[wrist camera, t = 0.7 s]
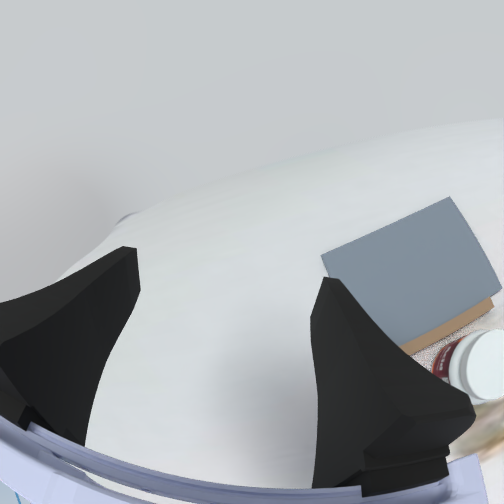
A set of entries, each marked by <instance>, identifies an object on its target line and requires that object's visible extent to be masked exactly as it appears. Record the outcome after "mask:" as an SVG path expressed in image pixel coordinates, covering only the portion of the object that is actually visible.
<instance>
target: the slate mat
mask: <svg viewBox="0 0 504 504" xmlns="http://www.w3.org/2000/svg"><path fill="white" fill-rule="evenodd" d="M321 257H322V259H323V262H324V264H325V267H326V269H327V271H328V274H329V276H330V278H337V279H340V280H341V282H342V283H343V284H344V285H345V286H346V288H347V289H348V290H349V291H350V293H351V294H352V295H353V296H354V298H355V299H356V300H357V301H358V303H359V304H360V305H361V306H362V308H363V309H364V310H365V311H366V313H367V314H368V315H369V316H370V317H371V318H372V320H373V321H374V322H375V323H376V324H377V325H378V326H379V327H380V328H381V330H382V331H383V332H384V333H385V334H386V335H387V336H388V337H389V338H390V339H391V340H392V341H393V342H394V343H395V344H397V345H398V346H399V347H400V348H401V349H402V350H403V351H404V352H405V353H406V354H408V355H411V354H414V353H416V352H418V351H420V350H422V349H424V348H425V347H427V346H429V345H431V344H433V343H435V342H437V341H439V340H441V339H442V338H444V337H446V336H448V335H450V334H451V333H453V332H455V331H457V330H458V329H460V328H462V327H463V326H465V325H467V324H468V323H470V322H472V321H473V320H475V319H477V318H478V317H480V316H481V315H483V314H484V313H486V312H488V311H489V310H491V309H492V308H494V305H493V303H492V300H491V298H490V296H492V295H493V294H495V293H496V292H498V291H499V290H501V289H502V286H501V284H500V282H499V280H498V278H497V276H496V274H495V272H494V270H493V268H492V266H491V264H490V262H489V260H488V258H487V256H486V254H485V253H484V251H483V249H482V247H481V245H480V244H479V242H478V240H477V238H476V237H475V235H474V233H473V232H472V230H471V228H470V227H469V225H468V223H467V222H466V220H465V219H464V217H463V216H462V214H461V212H460V211H459V209H458V208H457V206H456V205H455V203H454V202H453V200H452V199H451V198H450V196H449V197H447V198H445V199H443V200H441V201H439V202H437V203H435V204H433V205H431V206H428V207H426V208H424V209H422V210H420V211H418V212H416V213H413V214H411V215H409V216H407V217H405V218H403V219H401V220H398V221H396V222H394V223H392V224H390V225H387V226H385V227H383V228H381V229H379V230H376V231H374V232H372V233H370V234H368V235H365V236H363V237H361V238H359V239H356V240H354V241H352V242H350V243H347V244H345V245H343V246H340V247H338V248H336V249H334V250H331V251H329V252H327V253H324V254H322V255H321Z"/></svg>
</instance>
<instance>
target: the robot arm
mask: <svg viewBox="0 0 504 504" xmlns="http://www.w3.org/2000/svg"><path fill="white" fill-rule="evenodd" d="M140 291H141V288H140V279H139V270H138V259H137V248H131V247H125V246H122V247H120V248H118V249H116V250H114V251H112V252H110V253H109V254H107V255H105V256H103V257H102V258H100V259H98V260H96V261H95V262H93V263H91V264H89V265H88V266H86V267H84V268H83V269H81V270H79V271H77V272H75V273H73V274H71V275H70V276H68V277H66V278H64V279H62V280H60V281H58V282H56V283H54V284H52V285H50V286H47V287H45V288H43V289H41V290H38V291H36V292H33V293H30V294H27V295H25V296H22V297H19V298H16V299H13V300H9V301H6V302H2V303H0V480H1V481H2V482H3V483H4V484H6V485H7V486H8V487H10V488H11V489H13V490H14V491H15V492H17V493H18V494H19V495H21V496H22V497H24V498H25V499H27V500H28V501H30V502H31V503H30V504H156V503H152V502H148V501H145V500H141V499H138V498H135V497H131V496H128V495H125V494H122V493H118V492H115V491H113V490H110V489H107V488H105V487H103V486H101V485H100V484H98V483H96V482H95V481H93V480H92V479H91V478H89V477H88V476H87V475H86V474H85V472H83V471H81V470H79V469H77V468H75V467H73V466H71V465H69V464H72V465H74V466H76V467H78V468H81V469H83V470H85V471H88V472H90V473H93V474H95V475H98V476H100V477H103V478H105V479H108V480H111V481H114V482H116V483H119V484H122V485H125V486H128V487H132V488H135V489H138V490H141V491H145V492H149V493H152V494H156V495H160V496H164V497H168V498H172V499H177V500H182V501H187V502H192V503H197V504H488V498H487V493H486V488H485V484H484V479H483V475H482V471H481V467H480V463H479V459H478V456H477V454H476V453H474V454H471V455H468V456H465V457H462V458H459V459H456V460H453V461H451V462H449V463H447V462H446V458H445V457H446V456H448V455H449V454H450V450H449V446H448V445H449V444H450V443H452V442H453V441H454V440H456V439H457V438H458V437H459V436H461V435H462V434H463V433H464V432H465V431H466V430H468V429H469V428H470V427H471V425H472V424H473V423H474V421H475V418H476V414H475V411H474V408H473V405H472V403H471V400H470V397H469V395H468V394H467V393H465V392H463V391H461V390H459V389H457V388H456V387H454V386H452V385H450V384H448V383H447V382H445V381H443V380H442V379H440V378H439V377H437V376H436V375H434V374H433V373H431V372H430V371H428V370H427V369H425V368H424V367H423V366H421V365H420V364H419V363H418V362H416V361H415V360H414V359H413V358H411V357H410V356H409V355H408V354H406V353H405V352H404V351H403V350H402V349H401V348H400V347H399V346H398V345H397V344H395V343H394V342H393V341H392V340H391V339H390V338H389V337H388V336H387V335H386V334H385V333H384V332H383V331H382V330H381V328H380V327H379V326H378V325H377V324H376V323H375V322H374V321H373V320H372V318H371V317H370V316H369V315H368V314H367V313H366V311H365V310H364V309H363V308H362V306H361V305H360V304H359V303H358V301H357V300H356V299H355V298H354V296H353V295H352V294H351V293H350V291H349V290H348V289H347V288H346V286H345V285H344V284H343V283H342V282H341V280H340V279H337V278H330V277H324V278H323V281H322V284H321V287H320V290H319V293H318V296H317V299H316V302H315V305H314V308H313V311H312V314H311V316H310V330H311V346H312V353H313V360H314V368H315V375H316V383H317V393H318V425H317V445H316V458H315V467H314V475H313V483H312V489H275V488H257V487H245V486H235V485H227V484H219V483H213V482H206V481H200V480H195V479H190V478H185V477H180V476H175V475H171V474H167V473H162V472H158V471H155V470H151V469H147V468H144V467H140V466H137V465H133V464H130V463H127V462H124V461H121V460H118V459H115V458H112V457H109V456H106V455H104V454H101V453H98V452H96V451H93V450H91V449H88V448H86V447H85V440H86V434H87V428H88V423H89V418H90V414H91V409H92V405H93V401H94V398H95V394H96V391H97V388H98V384H99V381H100V378H101V375H102V372H103V369H104V367H105V364H106V361H107V359H108V357H109V355H110V352H111V350H112V349H113V347H114V345H115V343H116V341H117V339H118V337H119V335H120V333H121V332H122V330H123V328H124V326H125V324H126V322H127V320H128V319H129V317H130V315H131V313H132V311H133V309H134V306H135V304H136V301H137V299H138V296H139V293H140ZM62 460H63V461H62ZM64 461H65V462H64ZM66 462H67V463H66ZM68 463H69V464H68Z"/></svg>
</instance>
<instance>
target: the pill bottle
mask: <svg viewBox="0 0 504 504" xmlns="http://www.w3.org/2000/svg"><path fill="white" fill-rule="evenodd" d="M431 373H433V374H434V375H436V376H437V377H439V378H440V379H442V380H443V381H445V382H447V383H448V384H450V385H452V386H454V387H456V388H457V389H459V390H461V391H463V392H465V393H467V394H468V395H469V397H470V400H471V403H472V405H478V404H483V403H486V402H488V401H490V400H496V399H499V398H501V397H503V396H504V330H503V329H494V330H478V331H475V332H472V333H470V334H468V335H466V336H464V337H462V338H459V339H457V340H455V341H453V342H451V343H449V344H447V345H446V346H444V347H443V348H442V349H441V350H440V351H439V352H438V354H437V355H436V357H435V359H434V361H433V363H432V367H431Z"/></svg>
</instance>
